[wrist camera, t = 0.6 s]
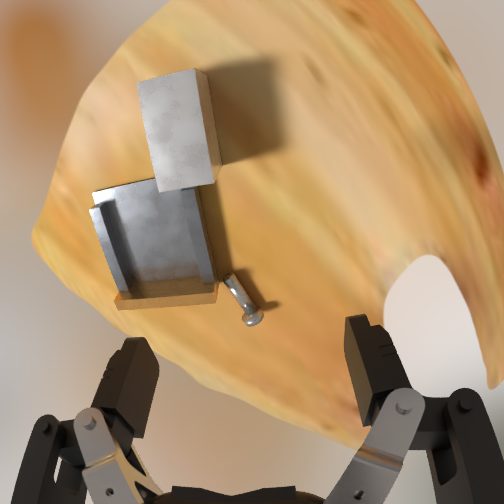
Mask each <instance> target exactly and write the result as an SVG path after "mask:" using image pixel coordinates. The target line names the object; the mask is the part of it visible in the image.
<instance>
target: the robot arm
mask: <svg viewBox="0 0 504 504" xmlns="http://www.w3.org/2000/svg"><path fill="white" fill-rule="evenodd" d="M344 353H345V358H346V362H347V366H348V369H349V373H350V377H351V380H352V384H353V388H354V392H355V396H356V400H357V404H358V408H359V412H360V416H361V420H362V424H363V427H365V426H369V425H371V427H372V428H371V430H370V432H369V434H368V435H367V437H366V439H365V441H364V443H363V444H362V446H361V448H359V450H358V451H357V453H356V454H355V456H354V457H353V459H352V461H351V462H350V464H349V465H348V467H347V469H346V470H345V472H344V473H343V475H342V477H341V478H340V480H339V481H338V483H337V484H336V486H335V487H334V489H333V490H332V491H331V493H330V495H329V496H328V497H327V499H326V500H325V499H323V498H321V497H319V496H316V495H313V494H310V493H306V492H299V491H296V488H295V486H288V487H276V488H262V489H259V490H256V491H251V492H247V493H243V494H238V495H234V496H229V495H224V494H220V493H216V492H213V491H209V490H205V489H202V488H192V487H180V486H172V492H168V493H163V491H162V490H161V489H160V488H159V486H158V485H157V484H156V483H155V482H154V481H153V480H152V478H151V477H150V475H149V473H148V471H147V470H146V468H145V466H144V464H143V462H142V461H141V459H140V457H139V455H138V453H137V451H136V449H135V447H134V446H133V444H132V441H133V437H134V438H143V437H144V433H145V428H146V424H147V420H148V416H149V412H150V408H151V403H152V400H153V396H154V392H155V388H156V384H157V380H158V377H159V364H158V361H157V359H156V357H155V355H154V353H153V351H152V349H151V348H150V346H149V344H148V342H147V340H146V339H145V338H144V337H134V338H127V339H126V340H125V341H124V344H123V346H122V348H121V350H117V351H116V352H115V353H114V355H113V356H112V357H111V358H110V360H109V362H108V364H107V367H106V370H105V372H104V374H103V378H102V379H101V382H100V384H99V387H98V389H97V392H96V394H95V397H94V400H93V402H92V405H91V407H90V408H86V409H84V410H82V411H81V412H80V413H78V414H77V416H76V418H75V419H73V420H67V421H61V422H59V421H58V420H57V419H56V418H55V417H54V416H53V415H44V416H42V417H40V418H39V419H38V420H37V422H36V423H35V425H34V428H33V430H32V433H31V436H30V439H29V442H28V445H27V448H26V451H25V454H24V457H23V460H22V464H21V467H20V470H19V474H18V477H17V481H16V484H15V488H14V492H13V496H12V500H11V504H85V499H86V494H87V489H88V491H89V493H90V496H91V498H92V501H93V503H94V504H383V502H384V501H385V498H386V497H387V495H388V494H389V492H390V490H391V488H392V486H393V484H394V482H395V480H396V478H397V477H398V475H399V472H400V470H401V468H402V465H403V460H404V458H405V456H406V454H407V451H408V450H426V453H427V457H428V461H429V466H430V470H431V475H432V480H433V485H434V491H435V496H436V502H437V504H504V460H503V457H502V454H501V451H500V448H499V444H498V441H497V438H496V436H495V433H494V430H493V427H492V424H491V422H490V419H489V416H488V414H487V412H486V409H485V406H484V404H483V401H482V399H481V397H480V395H479V394H478V393H477V392H475V391H474V390H472V389H469V388H461V389H458V390H456V391H454V392H453V393H452V394H451V396H450V397H446V398H432V397H425V396H422V395H421V394H420V393H419V392H417V391H416V390H414V389H413V388H412V386H411V384H410V382H409V380H408V377H407V375H406V373H405V370H404V368H403V365H402V363H401V360H400V358H399V356H398V354H397V351H396V349H395V346H394V345H393V342H392V339H391V337H390V335H389V333H388V332H387V331H386V330H385V329H384V328H383V327H382V326H380V325H375V326H370V323H369V321H368V318H367V316H366V315H365V314H361V315H355V316H349V317H346V319H345V334H344ZM58 457H60V458H61V459H62V461H61V465H60V469H59V473H58V477H57V481H56V483H55V481H54V472H55V469H56V465H57V460H58Z"/></svg>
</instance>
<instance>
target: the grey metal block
mask: <svg viewBox="0 0 504 504" xmlns="http://www.w3.org/2000/svg"><path fill="white" fill-rule="evenodd" d="M137 88H138V94H139V100H140V105H141V111H142V116H143V121H144V126H145V131H146V136H147V141H148V146H149V151H150V155H151V160H152V164H153V169H154V173H155V178H156V182H157V186H158V190H159V193H160V192H165V191H170V190H176V189H182V188H188V187H193V186H200V185H206V184H212V183H215V180H216V178H217V176H218V174H219V172H220V170H221V167H222V162H221V156H220V150H219V144H218V138H217V132H216V126H215V120H214V114H213V108H212V102H211V96H210V90H209V84H208V77H207V75H206V74H204V73H202V72H200V71H199V70H197V69H195V68H193V69H189V70H184V71H180V72H175V73H171V74H167V75H163V76H160V77H156V78H152V79H149V80H145V81H142V82H138V83H137Z"/></svg>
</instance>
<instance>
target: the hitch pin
mask: <svg viewBox="0 0 504 504" xmlns="http://www.w3.org/2000/svg"><path fill="white" fill-rule="evenodd" d="M223 282H224V283H225V285H226V286H227V288H228V289H229V290H230V292H231V293H232V295H233V296H234V298H235V299H236V300H237V302H238V303H239V305H240V306H241V308H242V309H243V310H244V312H245V313H244V314H243V316H242V320H243V322H244V323H245V324H246V325H247V326H254V325H257V324H258V323H259V322H261V321H262V319H263V317H264V313H263V311H262V310H261V308H260V307H257V306H255V305H254V303H253V302H252V300H251V299H250V297H249V296H248V294H247V293H246V291H245V290H244V288H243V287H242V285H241V284H240V282H239V281H238V279H237V278H236V276H235V274H234V273H229V274H227V275H226V276H225V277H224V278H223Z"/></svg>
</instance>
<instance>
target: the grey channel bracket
mask: <svg viewBox="0 0 504 504" xmlns="http://www.w3.org/2000/svg"><path fill="white" fill-rule="evenodd" d="M92 195H93V198H94V201H95V205H94V206H93V207H92V208H91V209H89V211H90V214H91V217H92V220H93V223H94V226H95V229H96V232H97V235H98V238H99V241H100V244H101V246H102V249H103V252H104V255H105V257H106V260H107V263H108V265H109V268H110V270H111V273H112V275H113V278H114V280H115V283H116V285H117V288H118V290H119V293H118V295H117V296H116V298H115V300H114V302H115V305H116V307H117V309H118V310H132V309H148V308H162V307H175V306H188V305H200V304H211V303H216V300H217V294H218V288H219V281H218V276H217V272H216V268H215V264H214V259H213V255H212V250H211V246H210V241H209V237H208V232H207V228H206V223H205V218H204V214H203V209H202V204H201V199H200V195H199V190H198V186H193V187H188V188H182V189H176V190H170V191H165V192H160V193H159V190H158V186H157V182H156V178H153V179H148V180H144V181H139V182H134V183H130V184H126V185H121V186H117V187H113V188H108V189H104V190H100V191H96V192H93V193H92Z"/></svg>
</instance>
